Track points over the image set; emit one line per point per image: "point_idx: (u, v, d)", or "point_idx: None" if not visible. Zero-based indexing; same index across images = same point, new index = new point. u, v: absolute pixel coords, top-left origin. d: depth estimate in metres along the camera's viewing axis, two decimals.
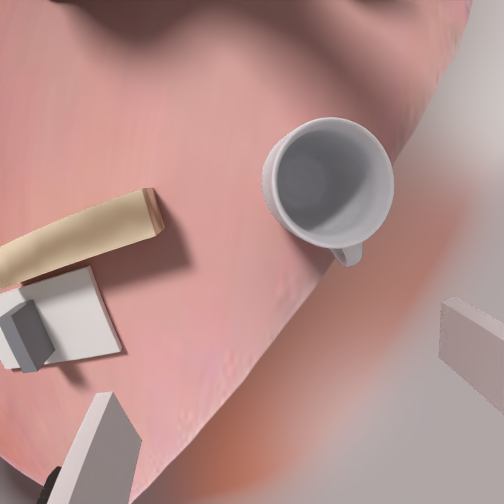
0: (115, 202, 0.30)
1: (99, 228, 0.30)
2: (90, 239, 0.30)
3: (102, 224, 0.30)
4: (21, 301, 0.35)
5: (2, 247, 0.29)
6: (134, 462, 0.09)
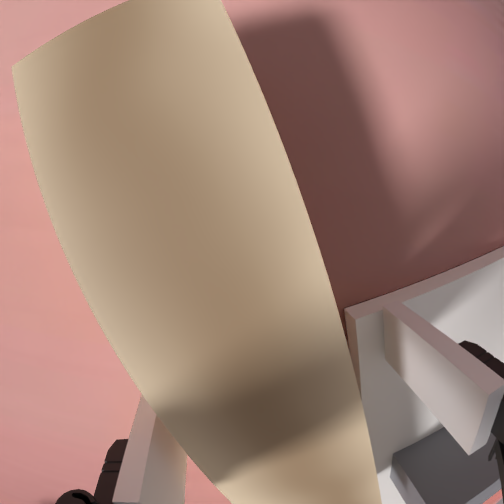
0: (50, 172, 0.05)
1: (183, 249, 0.06)
2: (246, 300, 0.06)
3: (161, 233, 0.06)
4: (388, 473, 0.15)
5: None
6: None
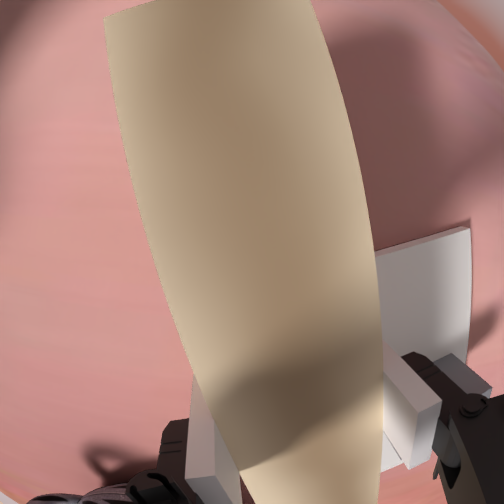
0: (136, 121, 0.06)
1: (257, 211, 0.07)
2: (303, 267, 0.07)
3: (238, 194, 0.07)
4: None
5: None
6: None
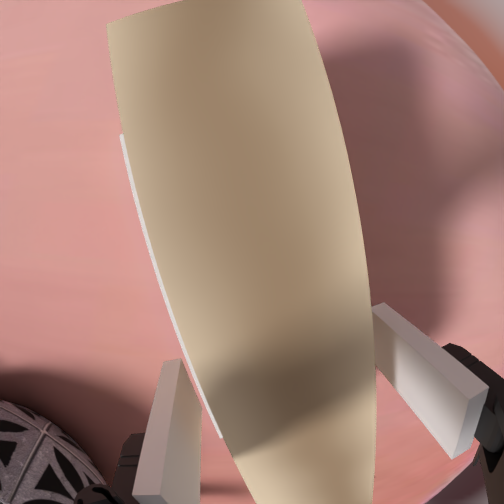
0: (138, 124, 0.06)
1: (252, 209, 0.07)
2: (296, 262, 0.08)
3: (234, 193, 0.07)
4: None
5: None
6: (200, 427, 0.11)
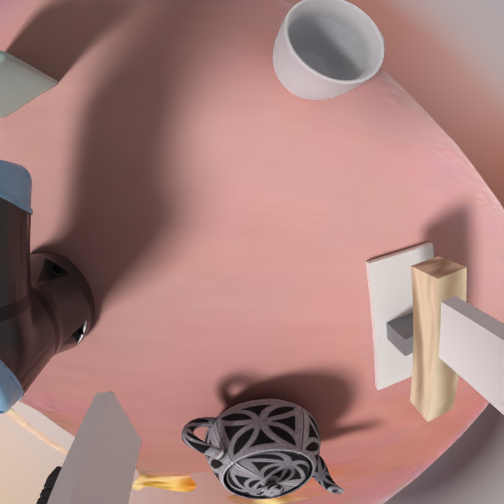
0: (440, 302, 0.32)
1: None
2: None
3: None
4: (386, 335, 0.46)
5: (431, 404, 0.36)
6: (134, 462, 0.09)
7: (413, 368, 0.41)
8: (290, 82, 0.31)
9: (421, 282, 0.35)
